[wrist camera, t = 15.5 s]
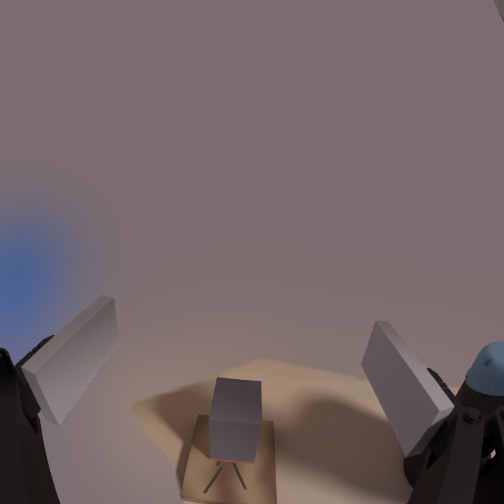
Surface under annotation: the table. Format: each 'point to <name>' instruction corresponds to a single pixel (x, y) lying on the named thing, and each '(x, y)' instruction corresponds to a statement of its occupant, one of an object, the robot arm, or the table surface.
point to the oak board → (230, 472)
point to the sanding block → (235, 420)
